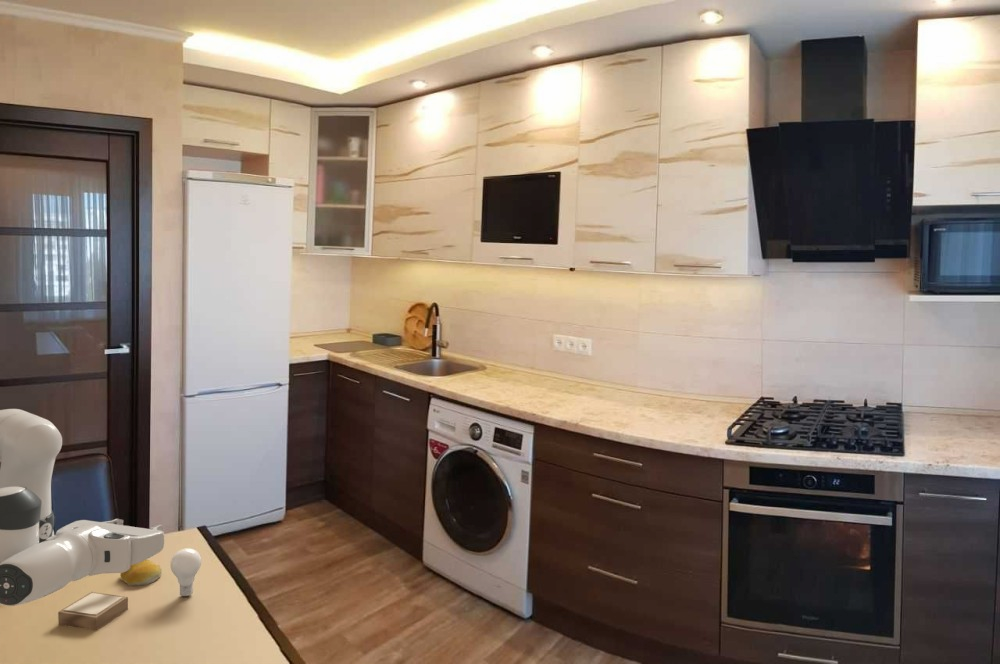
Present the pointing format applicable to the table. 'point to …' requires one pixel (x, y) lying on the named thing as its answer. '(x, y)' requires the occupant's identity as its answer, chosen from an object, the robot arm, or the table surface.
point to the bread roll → (141, 573)
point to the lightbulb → (186, 569)
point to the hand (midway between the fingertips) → (140, 525)
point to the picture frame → (93, 611)
